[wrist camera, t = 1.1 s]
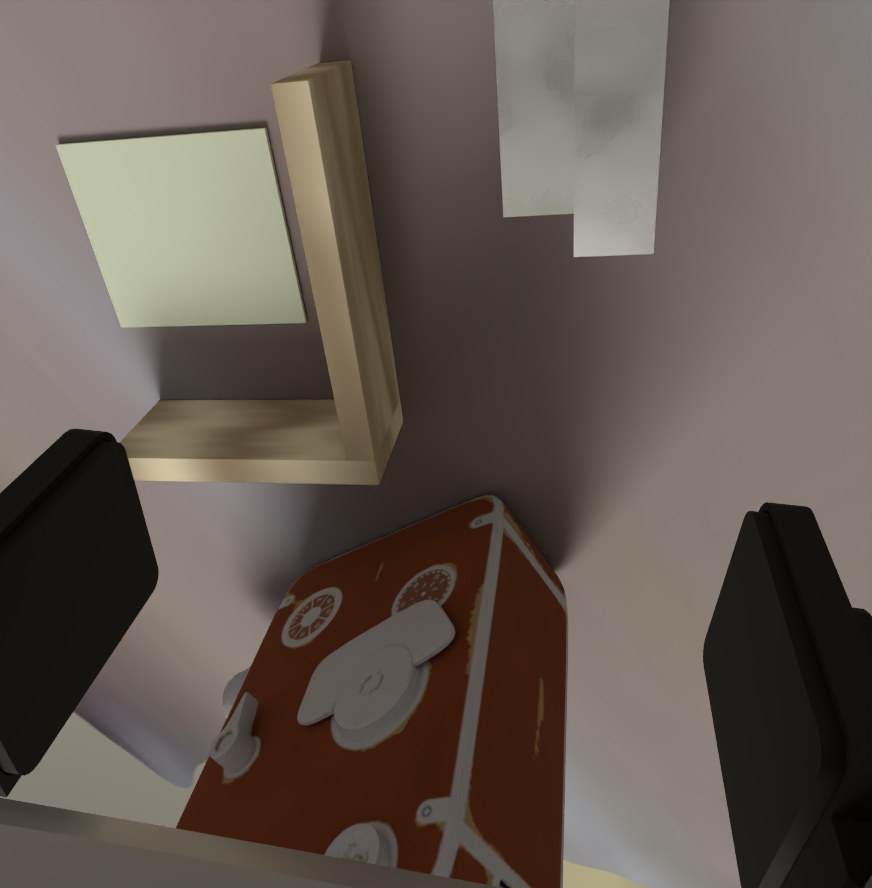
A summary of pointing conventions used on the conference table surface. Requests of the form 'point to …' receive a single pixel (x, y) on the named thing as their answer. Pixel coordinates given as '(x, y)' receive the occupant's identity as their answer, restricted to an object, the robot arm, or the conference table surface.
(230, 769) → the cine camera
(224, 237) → the pad
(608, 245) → the bracket
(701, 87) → the conference table surface
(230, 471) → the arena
